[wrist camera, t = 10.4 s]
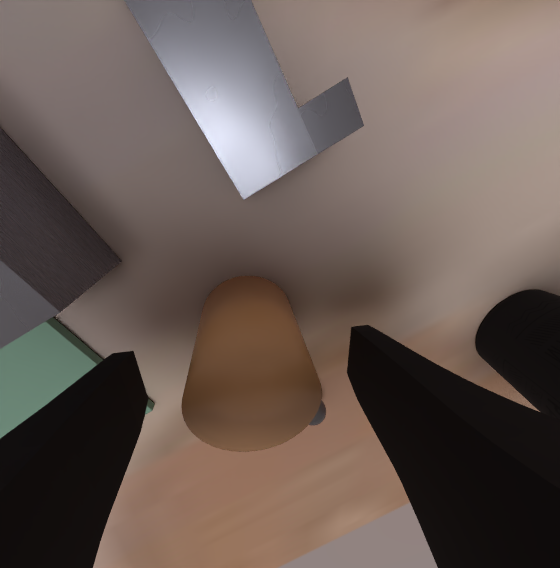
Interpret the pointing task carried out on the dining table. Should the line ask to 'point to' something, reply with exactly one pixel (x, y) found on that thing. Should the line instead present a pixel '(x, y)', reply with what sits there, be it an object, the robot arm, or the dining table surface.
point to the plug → (250, 370)
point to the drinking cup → (526, 346)
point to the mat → (41, 371)
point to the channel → (212, 120)
